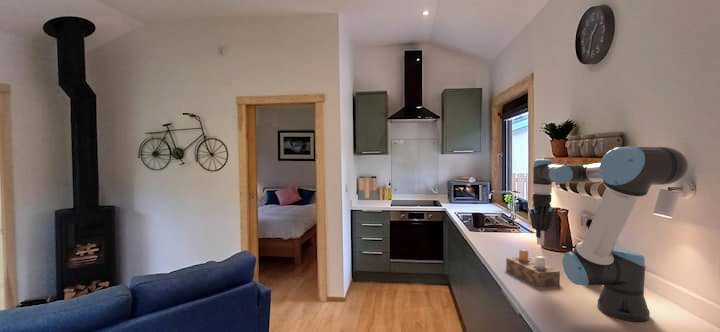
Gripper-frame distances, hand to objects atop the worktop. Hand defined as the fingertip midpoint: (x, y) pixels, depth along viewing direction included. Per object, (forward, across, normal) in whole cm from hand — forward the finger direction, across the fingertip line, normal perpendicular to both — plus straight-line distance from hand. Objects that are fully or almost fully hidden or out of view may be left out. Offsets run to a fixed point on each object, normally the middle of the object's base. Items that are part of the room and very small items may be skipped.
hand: (540, 244), depth 153 cm
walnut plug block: (+17, 0, -5) cm, 18 cm away
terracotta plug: (+12, 0, -11) cm, 16 cm away
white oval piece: (+12, 0, 0) cm, 12 cm away
